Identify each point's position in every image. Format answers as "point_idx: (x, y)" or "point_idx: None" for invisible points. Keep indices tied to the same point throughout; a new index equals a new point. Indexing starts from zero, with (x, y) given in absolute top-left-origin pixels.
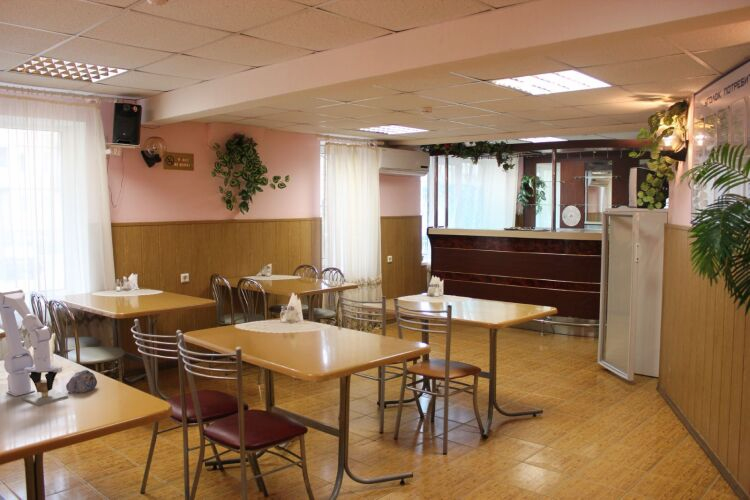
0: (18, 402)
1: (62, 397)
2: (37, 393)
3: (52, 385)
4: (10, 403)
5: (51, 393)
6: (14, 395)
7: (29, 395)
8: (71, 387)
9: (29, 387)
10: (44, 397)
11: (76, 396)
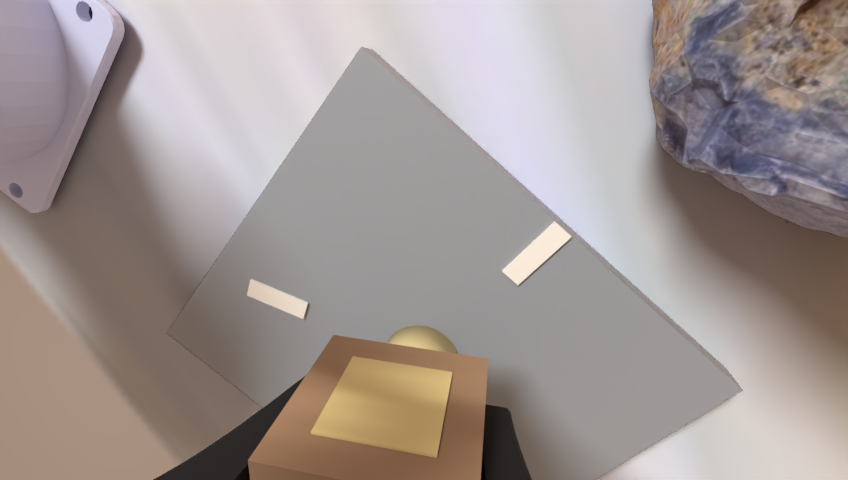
0: (213, 398)
1: (671, 426)
2: (261, 231)
3: (518, 450)
4: (160, 407)
5: (457, 264)
6: (19, 198)
7: (213, 293)
8: (803, 223)
9: (12, 47)
10: None
11: (844, 337)
